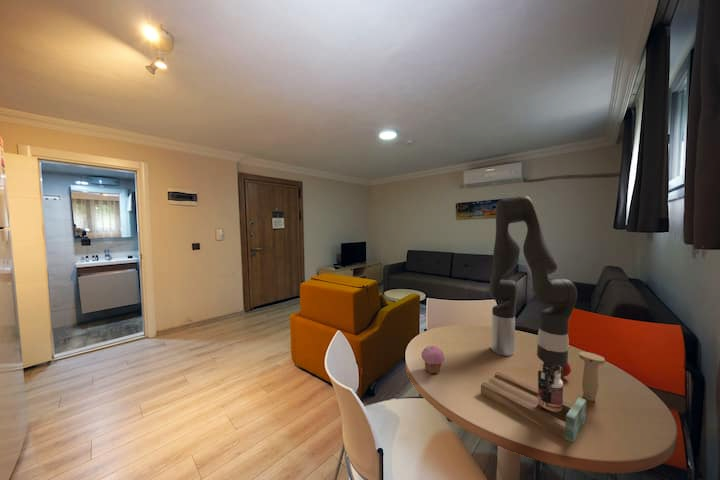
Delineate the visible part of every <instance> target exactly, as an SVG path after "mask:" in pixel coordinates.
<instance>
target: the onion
mask: <svg viewBox="0 0 720 480" xmlns="http://www.w3.org/2000/svg"><path fill="white" fill-rule="evenodd" d="M571 372H572V369H571V365H570V364H569V362H567V364H566V365H563V377H562V378H565V377H567V376H569V375H570V374H571Z"/></svg>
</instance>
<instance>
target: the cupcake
mask: <svg viewBox="0 0 720 480" xmlns="http://www.w3.org/2000/svg"><path fill="white" fill-rule="evenodd" d="M421 359H422V360H423V361H424V367H425V368H424V369H425V370H426V371H427V372H428V373H430V374H439V373H440V370H441V367H442V365H443V363H444V361H445V353H444V352H443V351H442V349H441V348H439V347H437V346H436V345H428V346H427V347H425V348H424V349H422V351H421Z"/></svg>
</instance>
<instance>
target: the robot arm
mask: <svg viewBox="0 0 720 480" xmlns="http://www.w3.org/2000/svg"><path fill="white" fill-rule="evenodd" d="M538 217H539V216H538V214H537V210H536V207H535V205H534V202H533V201H532V199H531V198H530V197H529V196H527V195H518V196H513V197H506V198H502V199H499V200H498V202H497V204H496V209H495V238H494V239H495V241H494V246H493V247H494V249H493V257H492V270H491V276H490V281H489V287H488V291H489V293H488V294H489V296H490V298H491V299H493V300H497V301H505V302H504V303H501V304H496V305H494V306H493V307H492V311H491V343H490V344H491V346H490V347H491V350H492V352H493V353H495V354H498V355H500V356H509V357H510V356H513V355H514V354H515V337H516V336H515V335H516V310H517V309H516V308H517V307H516V306H517V305H516V304H517V296H518V295H517V293H518V285H517V282H516V281H515V280H512V279H503V277H505V276H506V275H507V274H509V273H510V272H511V271H512V270H513V269H515V268H516V266H517V265H518V263H519V259H520V253H521V248H520V246H519V244H518V242H517V240H515V238H514V237H513V236H512V234H511V233H510V231H509V226H510V225H511V224H514V223H522V222H524V223H525V225H526V228H527V231H526V237H525V239H524V242H523V245H522V246H523V249H522V250H523V256H524V258H525V261H526V263H527V266H528V267H529V269H530V275H531V282H532V291H533V294H534V296H535V298H536V299H537V300H538V301H539V302H540V303H543V304H549V305H550V307H546V308H544V309H542V310H540V312H539V316H538V317H539V319H538V320H539V321H538V332H537V342H536V343H537V347H536V348H537V349H536V356H537V358H538V359H539V360H540V361H541V362H543V364H541V366H540V367H541V368H540V369H541V370H538V372H537V389H540V390H542V395H541V400H542V401H544V402H546V403H548V404H550V402H551V391H552V385H554V384H555V381H556V376H557V375H558V372H560V374H561V375H560V379H563V378H564V377H563V365H566V364H567V363H569V360H568V359H569V341H570V340H569V320H570V317H571V316H572V313H573V310H574V308H575V306H576V303H577V300H578V289H577V287H576V285H575V284H574V283H573V281H571V280H570V279H565V278H554V279H553V278H552V279H550V278H549V276H548V275H551V274H553V273H555V272H556V271H557V269H558V266H557V265H558V264H557V262H556V261H555V259H554V257H553V254H552V252H551V250H550V248H549V247H548V244H547V243H546V240H545V237H544V234H543V231H542V230H543V229H542V227H541V223H540V220H539V218H538ZM549 379H552V381H549ZM544 385H545V386H544Z"/></svg>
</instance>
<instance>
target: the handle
mask: <svg viewBox="0 0 720 480" xmlns="http://www.w3.org/2000/svg"><path fill="white" fill-rule="evenodd" d="M578 357H579V359H580V360H582V361H584V367H583V373H582V380H581V381H582V382H581V385H582V386H581V387H582V392H583V393H582V397H583V399H585V400H586V401H589V402H590V401H593V402H595V401H596V399H597V398H596V397H597V394H598V391H599V390H598V389H599V376H598V375H599V369H598V368H599V365H604V364H605V362H606V359H605V357H604V356H601V355H599V354H597V353H592V352H589V351H579V352H578Z"/></svg>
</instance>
